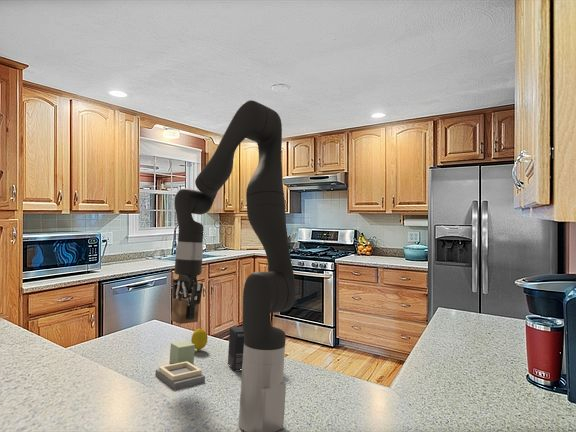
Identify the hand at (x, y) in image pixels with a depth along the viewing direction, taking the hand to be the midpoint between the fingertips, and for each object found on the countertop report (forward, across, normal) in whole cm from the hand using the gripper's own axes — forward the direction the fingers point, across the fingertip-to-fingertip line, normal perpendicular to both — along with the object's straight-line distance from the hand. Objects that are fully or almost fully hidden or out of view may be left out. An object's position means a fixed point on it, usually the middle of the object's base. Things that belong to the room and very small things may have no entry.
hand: (184, 317), depth 101 cm
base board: (+17, 0, 0) cm, 17 cm away
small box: (+17, -3, -23) cm, 29 cm away
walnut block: (+1, 0, 0) cm, 1 cm away
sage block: (+17, +11, -6) cm, 21 cm away
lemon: (+17, +19, -17) cm, 31 cm away
